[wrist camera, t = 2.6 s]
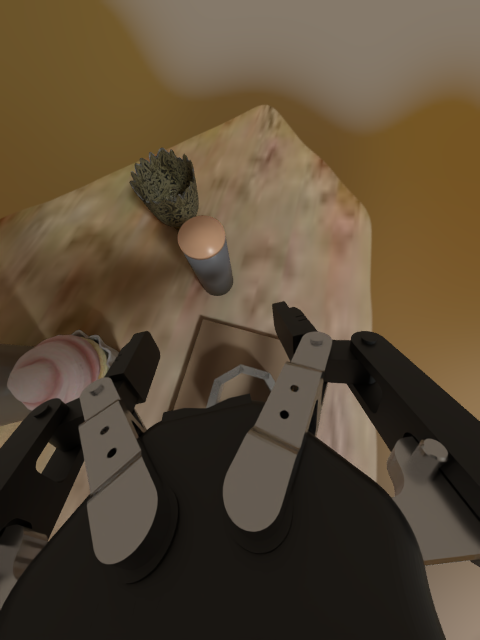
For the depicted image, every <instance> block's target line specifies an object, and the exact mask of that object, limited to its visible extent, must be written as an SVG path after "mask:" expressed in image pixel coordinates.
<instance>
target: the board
mask: <svg viewBox="0 0 480 640" xmlns="http://www.w3.org/2000/svg"><path fill="white" fill-rule="evenodd" d="M287 361H288V362H290V360H289V358H288V356H287V354H286V352H285V350H284V348H283V346H282V344H281V342H280V340H279V339H275V338H271V337H268V336H264V335H260V334H256V333H253V332H249V331H245V330H242V329H238V328H234V327H231V326H227V325H223V324H219V323H216V322H212V321H208V320H205V319H203V321H202V324H201V327H200V330H199V333H198V336H197V339H196V342H195V346H194V349H193V352H192V355H191V358H190V361H189V364H188V367H187V370H186V373H185V376H184V379H183V382H182V385H181V388H180V391H179V394H178V397H177V400H176V403H175V406H174V409H173V410H177V409H182V408H206V406H207V403H208V400H209V396H210V393H211V389H212V386H213V383H214V379H216V378H218V377H220V376H221V375H223V374H225V373H227V372H228V371H230V370H232V369H234V368H235V367H237V366H239V365H240V364H242V365H246V366H249V367H253V368H256V369H260V370H263V371H267V372H269V373H270V374H271V376H272V378H273V379H274V381H275V383H276V381H277V379H278V377H279V374H280V372H281V370H282V368H283V366H284V364H285V363H286V362H287ZM249 393H250V395H251V399H252V400H258V401H263V402H266V401H267V399H268V397H269V395H270V393H271V392H270V390H269V388H268V387H267V385H266V383H265V381H264V379H261V378H257V377H254V376H251V375H247V374H244V373H241V374H239V375H237V376H235V377H234V378H232V379H230V380H228V381H227V382H225V383H224V386H223V390H222V393H221V397H220V400H219V402H221V401H224V400H226V399H228V398H231V397H236V396H240V395H245V394H249Z"/></svg>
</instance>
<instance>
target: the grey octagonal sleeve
mask: <svg viewBox="0 0 480 640" xmlns="http://www.w3.org/2000/svg"><path fill="white" fill-rule="evenodd" d="M241 373H244V374H247V375H251V376H254V377H257V378H261V379H264V381H265V383H266V385H267V387H268V388H269V390H270V392H271V391H272V389H273V387H274V385H275V381H274V379H273V378H272V376H271V374H270V373H269V372H267V371H263V370H260V369H256V368H253V367H249V366H246V365H242V364H240V365H239V366H237V367H235V368H234V369H232V370H230V371H228V372H227V373H225V374H223V375H221V376H220V377H218V378H216V379H214V383H213V386H212V389H211V393H210V396H209V400H208V403H207V406H206V408H208V407H211V406H213V405H215V404H217V403H219V400H220V397H221V393H222V390H223V386H224V383H225V382H227V381H228V380H230V379H232V378H234V377H235V376H237V375H239V374H241Z"/></svg>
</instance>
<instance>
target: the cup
mask: <svg viewBox="0 0 480 640" xmlns="http://www.w3.org/2000/svg"><path fill="white" fill-rule="evenodd" d="M169 153H170V154H169ZM169 153H168V152H167V151H166V150H165V149H164V148H160V150H159V152H158V154H157V156H156V157H155V156H154V154H152V153H151V152H150V153H149V159H150V163H149V162H148V161H147V160H145V159H143V158H140V164H137V163H135V170H136V173H137V175H136V174H135V173H134V172H133V171H131V176H132V177H133V179H134V181H130V184H131V186H132V188H133V189H134V191H135V193H136V194H137V195H138V196H139V197H140V199H141V200H142V201H143V202H144V204H145V205H146V206H147V207H148V208H149V210H150V211H151V212H152V213H153V214H154V215H155V216H156V217H157V218H158V219H159V220H160V221H161V222H163V223H164V224H166V225H168V226H172V227H174V228H176V229H177V230H180V228H181V226H182V225H183V224H184V223H185V222H186V221H187V220H189V219H191V218H193V217H195V216H196V214H197V211H198V192H197V186H196V180H195V175H194V168H193V164H192V162H191V160H188V158H187V156H186V155H185V154H184V155H183V160H182V159H181V158H177V157H176V156H175V154H174V152H173V150H170V152H169Z"/></svg>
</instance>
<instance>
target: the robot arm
mask: <svg viewBox="0 0 480 640" xmlns="http://www.w3.org/2000/svg"><path fill="white" fill-rule="evenodd" d="M272 309H273V318H274V326H275V330H276V333H277V335H278V337H279V340H280V342H281V344H282V346H283V348H284V350H285V352H286V354H287V356H288V358H289V360H290V362H288V361H287V362H286V363H285V364H284V366H283V368H282V370H281V372H280V374H279V377H278V379H277V381H276V383H275V385H274V387H273V389H272V391H271V393H270V395H269V397H268V399H267V401H266V402H263V401H258V400H252V399H251V395H250V393H249V394H245V395H240V396H236V397H231V398H228V399H226V400H224V401H221V402H219V403H217V404H215V405H213V406H211V407H208V408H182V409H177V410H173V411H168V412H164V413H163V417H162V421H160V422H158V423H156V424H155V425H153V426H152V427H150V428H149V429H148V430H147V429H146V428H145V426H144V424H143V422H142V420H141V418H140V416H139V415H138V413H137V411H136V410H135V409H134V407H135V405H136V404H139V403H144V402H145V401H146V398H147V395H148V392H149V389H150V386H151V383H152V380H153V377H154V375H155V372H156V369H157V366H158V363H159V360H160V351H159V349H158V347H157V345H156V343H155V341H154V339H153V338H152V336H151V334H150V332H148V331H145V332H140V333H136V334H134V335H133V337H132V339H131V340H130V342H129V343H128V344H127V345H125V346H124V347H123V348H122V349H121V351H120V352H119V354H118V356H117V357H116V359H115V360H114V361H115V362H113V363H112V365H111V367H110V368H109V370H108V371H107V373H106V375H105V376H104V378H101V379H98V380H96V381H94V382H92V383H91V384H89V385H88V386H87V387H86V388H85V389H84V390H83V391H82V393H81V395H80V397H79V398H77V399H75V400H73V401H70V402H68V403H66V404H65V403H64V402H63V401H62V400H61V399H59V398H54V399H50V400H48V401H46V402H44V403H42V404H40V405H39V406H37V407H36V408H35V409H34V410H29V409H27V407H26V406H25V405H24V404H23V403H22V402H21V401H19V400H18V399H16V398H15V397H14V395H13V394H12V393H11V391H10V390H9V389H8V387H7V382H8V378H9V376H10V373H11V372H12V370H13V368H14V366H15V364H16V363H17V361H18V359H19V358H20V357H21V356H23V355H24V354H25V353H26V352H28V351H29V350H31V349H33V348H35V347H34V346H21V345H9V344H0V426H3V425H7V424H10V423H14V422H18V421H22V420H23V421H22V423H21V424H20V425H19V426H18V428H17V429H16V430H15V431H14V432H13V434H12V435H11V436H10V437H9V439H8V440H7V441H6V442H5V443H4V445H3V446H2V447H1V448H0V640H446V638H445V635H444V633H443V630H442V628H441V624H440V622H439V619H438V616H437V613H436V610H435V607H434V604H433V600H432V596H431V593H430V589H429V584H428V580H427V576H426V571H425V566H428V565H436V564H443V563H452V562H461V561H471V562H472V563H474V564H476V565H477V566H479V567H480V421H478V420H477V419H476V418H475V417H474V416H473V415H472V414H471V413H469V412H468V411H467V410H466V409H464V407H463V406H461V405H460V404H459V403H458V402H457V401H456V400H455V399H453V398H452V397H451V396H450V395H449V394H448V393H447V392H445V391H444V390H443V389H442V388H441V387H440V386H439V385H437V384H436V383H435V382H434V381H433V380H432V379H431V378H430V377H428V376H427V375H426V374H425V373H424V372H423V371H422V370H420V369H419V368H418V367H417V366H416V365H414V364H413V363H412V362H411V361H410V360H409V359H408V358H407V357H406V356H404V355H403V354H402V353H401V352H400V351H399V350H398V349H396V348H395V347H394V346H393V345H392V344H391V343H389V342H388V341H387V340H386V339H385V338H384V337H382V336H380V335H379V334H377V333H374V332H369V331H361V332H356V333H354V334H353V335H352V336H351V340H332V339H331V337H330V336H329V335H327V334H325V333H322V332H318V331H317V330H316V329H315V327H314V326H313V325H312V324H311V323H310V321H309V320H308V319H307V318H306V316H304V314H303V313H302V311H301V310H299V309H297V308H295V307H292V308H289V307H288V306H287V304H286V303H285V302H284V301H283V302H279V303H274V304H272ZM328 382H331V383H346V384H347V385H348V387H349V388H350V390H351V391H352V393H353V394H354V396H355V397H356V399H357V400H358V402H359V403H360V405H361V407H362V408H363V410H364V411H365V413H366V414H367V416H368V417H369V419H370V420H371V422H372V423H373V425H374V426H375V428H376V430H377V431H378V433H379V434H380V436H381V437H382V439H383V440H384V442H385V443H386V445H387V446H388V448H389V449H390V451H391V454H390V456H389V458H388V460H387V470H388V473H389V475H390V478H391V480H392V482H393V485H394V489H395V497H393V498H391V497H390V496H389V494H388V493H387V492H386V491H385V490H384V489H383V488H382V487H381V486H379V485H378V484H377V483H376V482H375V481H374V480H372V479H371V478H370V477H368V476H367V475H366V474H364V473H363V472H362V471H360V470H359V469H358V468H356V467H355V466H354V465H352V464H351V463H350V462H348V461H347V460H346V459H345V458H343V457H342V456H341V455H339V454H338V453H337V452H335V451H334V450H333V449H331V448H330V447H329V446H327V445H326V444H325V443H323V442H322V441H321V440H319V439H318V438H317V437H316V435H317V431H318V427H319V421H320V415H321V410H322V406H323V402H324V398H325V394H326V390H327V385H328ZM48 442H49V443H50V444H52V445H53V446H55V447H56V450H55V452H54V453H53V455H52V457H51V458H50V460H49V462H48V463H47V465H46V467H45V468H44V470H43V472H42V474H40V473H39V472H37V470H36V461H37V459H38V457H39V456H40V454H41V453H42V451H43V449H44V448H45V446H46V445H47V443H48ZM84 460H85V465H86V471H87V476H88V482H89V487H90V494H89V496H88V497H87V498H86V499H85V500H84V501H83V503H82V504H81V505H80V506H79V507H78V508H77V509H76V511H75V512H74V513H73V514H72V515H71V516H70V517H69V519H68V520H67V521H66V522H65V523H64V524H63V526H62V527H61V528H60V529H59V530H58V531H57V532H56V534H55V535H54V536H53V537H52V538H51V539H50V540H49V542H48V539H49V537H50V535H51V532H52V530H53V528H54V526H55V524H56V521H57V519H58V517H59V515H60V513H61V510H62V508H63V506H64V504H65V502H66V499H67V497H68V495H69V493H70V490H71V488H72V486H73V484H74V482H75V479H76V477H77V475H78V473H79V471H80V468H81V466H82V464H83V462H84Z"/></svg>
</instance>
